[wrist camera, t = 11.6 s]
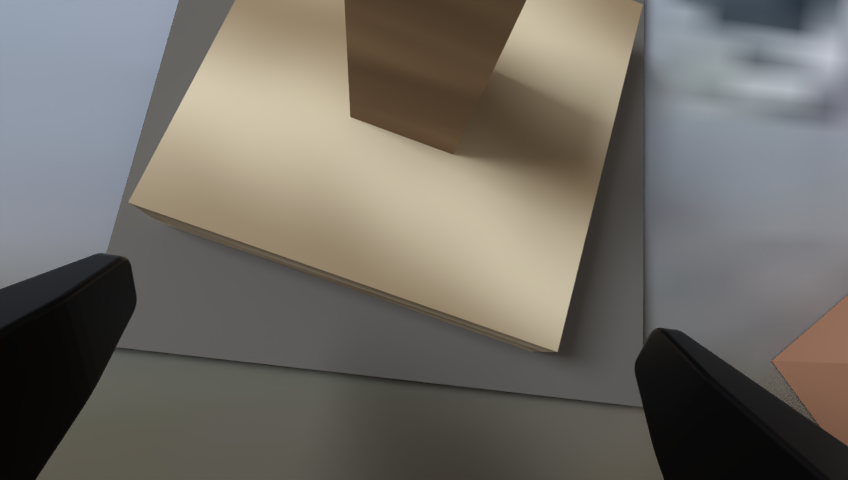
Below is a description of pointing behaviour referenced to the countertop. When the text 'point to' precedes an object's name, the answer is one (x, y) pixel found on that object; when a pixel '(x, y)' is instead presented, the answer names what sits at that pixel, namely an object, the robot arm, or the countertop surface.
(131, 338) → the mat
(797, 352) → the storage box
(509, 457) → the countertop surface
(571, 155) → the lid
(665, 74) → the countertop surface
